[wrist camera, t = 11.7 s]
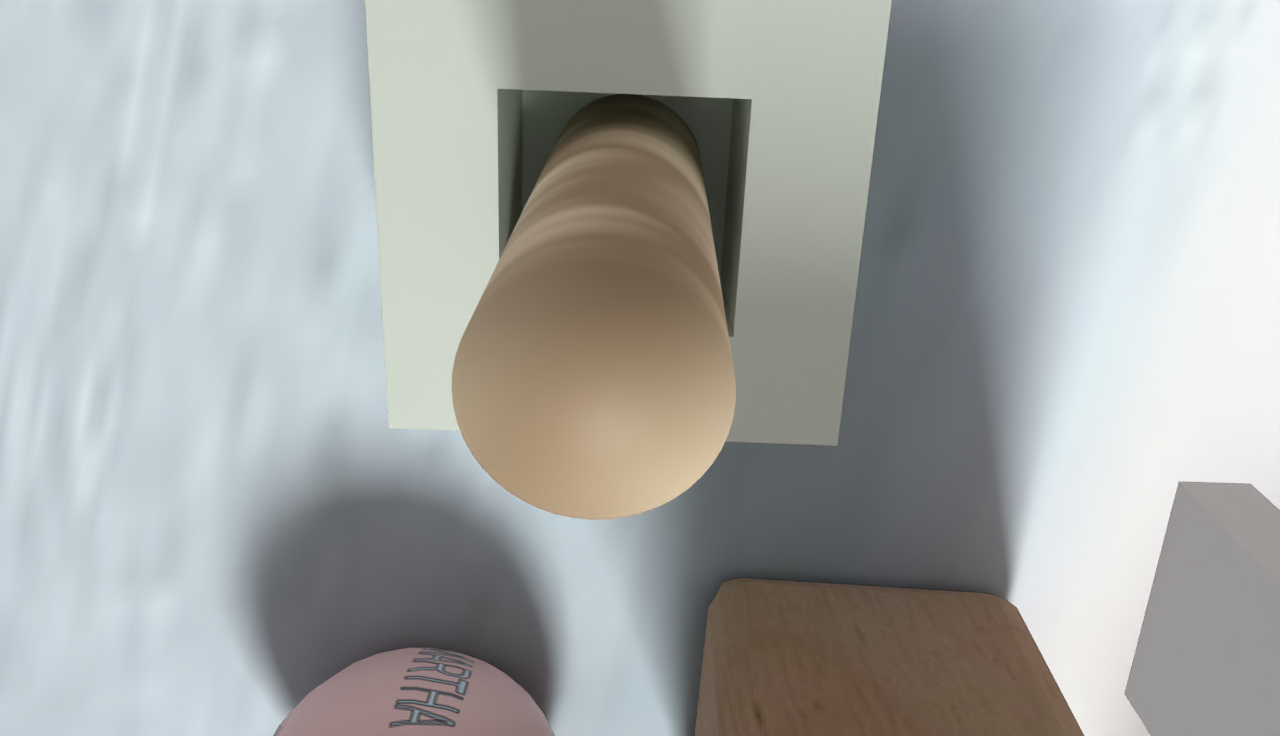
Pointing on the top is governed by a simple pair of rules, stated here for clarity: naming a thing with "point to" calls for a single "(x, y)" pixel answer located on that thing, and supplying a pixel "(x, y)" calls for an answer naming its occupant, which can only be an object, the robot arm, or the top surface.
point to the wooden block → (872, 664)
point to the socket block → (730, 155)
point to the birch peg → (603, 325)
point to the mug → (417, 699)
